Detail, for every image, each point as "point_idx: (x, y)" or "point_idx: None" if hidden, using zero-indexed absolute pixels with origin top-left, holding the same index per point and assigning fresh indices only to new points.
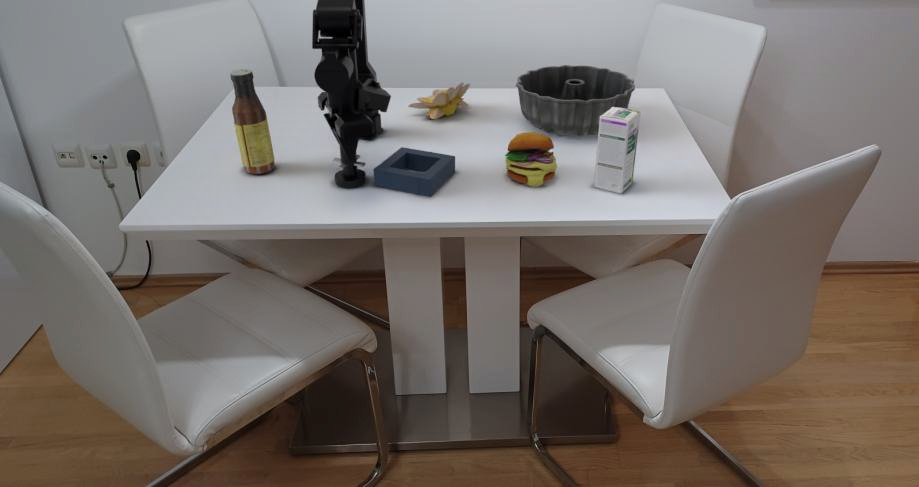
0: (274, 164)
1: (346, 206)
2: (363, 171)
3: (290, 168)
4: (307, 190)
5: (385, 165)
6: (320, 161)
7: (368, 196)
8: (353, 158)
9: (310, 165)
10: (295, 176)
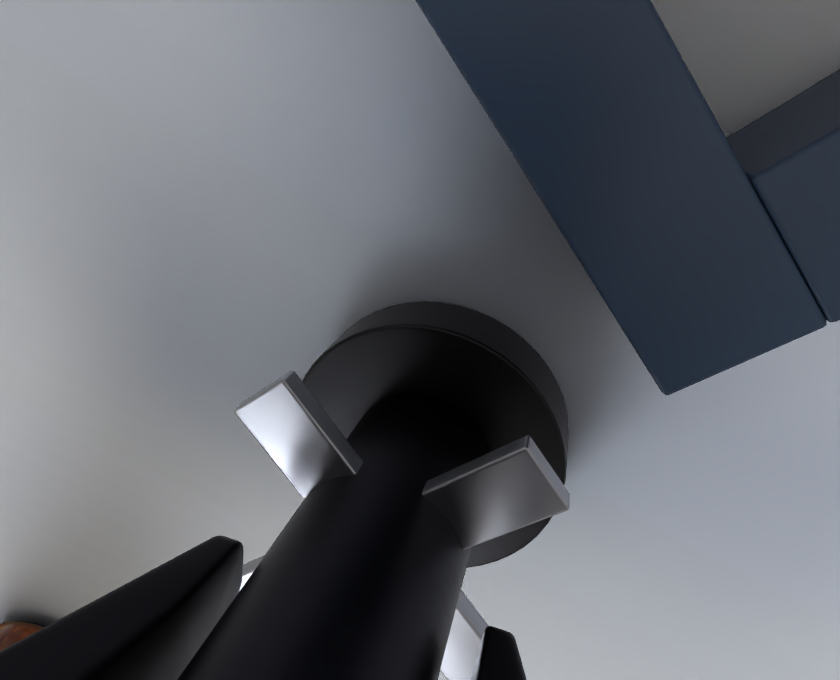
0: (36, 630)
1: (822, 656)
2: (419, 334)
3: (84, 574)
4: None
5: (669, 201)
6: (31, 406)
7: (799, 458)
8: (517, 663)
9: (74, 480)
10: None
